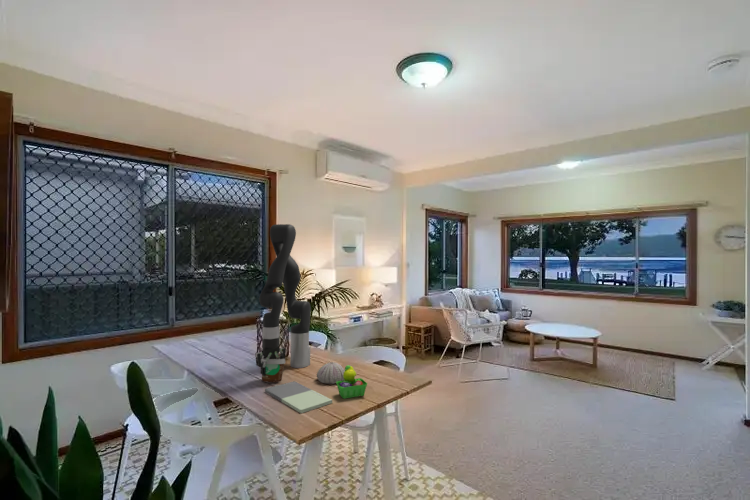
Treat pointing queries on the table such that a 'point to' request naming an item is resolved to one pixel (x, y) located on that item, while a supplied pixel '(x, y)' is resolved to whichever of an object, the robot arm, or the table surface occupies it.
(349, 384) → the fruit basket
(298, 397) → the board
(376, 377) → the table surface
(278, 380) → the food container
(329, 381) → the sea urchin shell
